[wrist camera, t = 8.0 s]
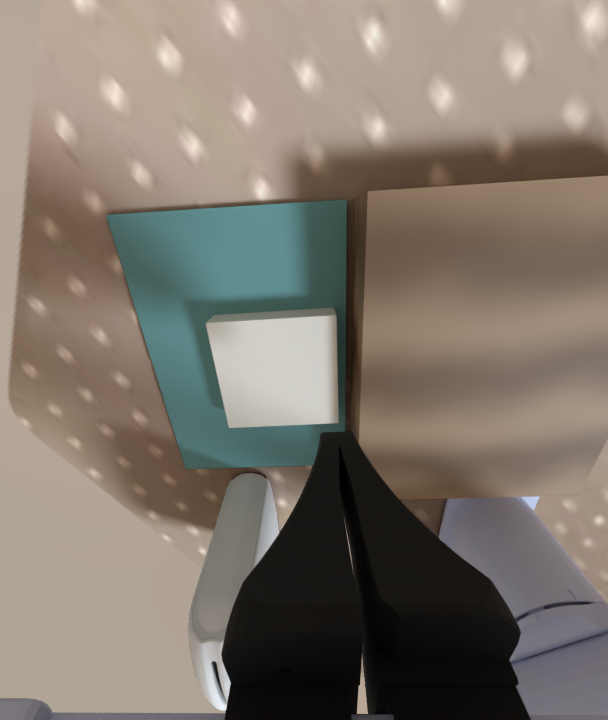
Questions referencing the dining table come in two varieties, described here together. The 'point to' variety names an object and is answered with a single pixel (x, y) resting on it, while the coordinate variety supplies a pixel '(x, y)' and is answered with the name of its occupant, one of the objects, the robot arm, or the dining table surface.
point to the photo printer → (228, 576)
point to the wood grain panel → (481, 337)
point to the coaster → (277, 366)
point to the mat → (230, 310)
